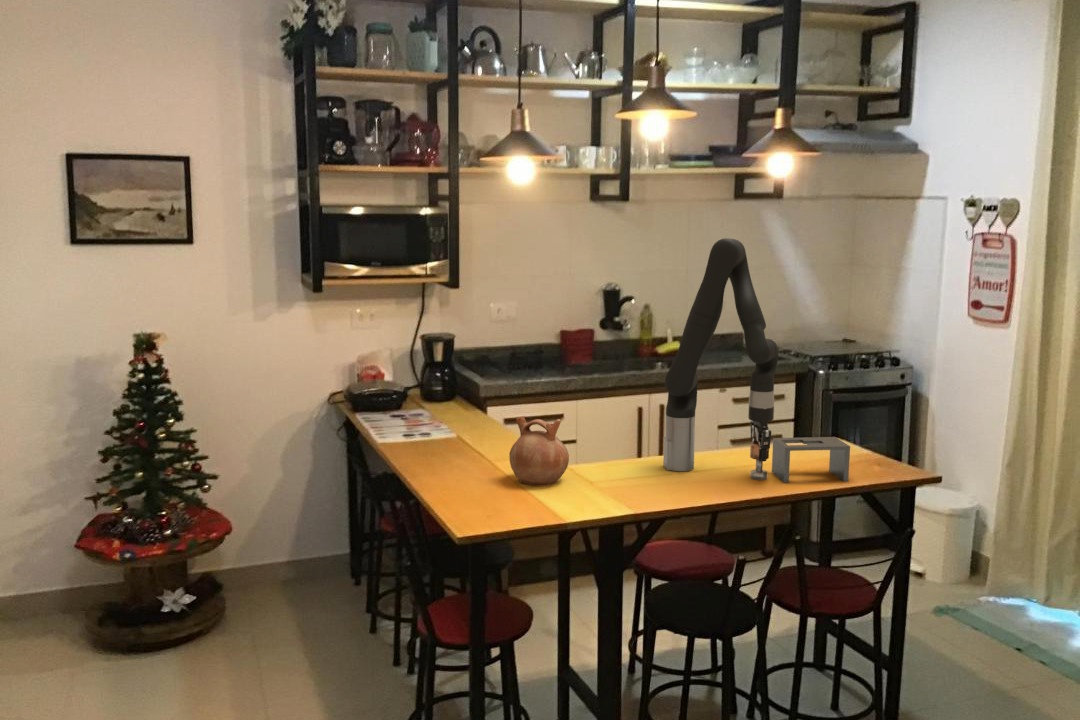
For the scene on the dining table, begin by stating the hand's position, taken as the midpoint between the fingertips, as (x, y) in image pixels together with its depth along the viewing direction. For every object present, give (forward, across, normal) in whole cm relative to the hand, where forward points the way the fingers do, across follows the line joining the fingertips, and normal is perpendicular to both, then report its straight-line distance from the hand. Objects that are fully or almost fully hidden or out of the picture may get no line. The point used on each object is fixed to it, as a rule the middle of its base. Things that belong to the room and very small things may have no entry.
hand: (759, 458), depth 296 cm
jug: (+6, -2, -68) cm, 68 cm away
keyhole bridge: (+6, 0, +16) cm, 17 cm away
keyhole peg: (+6, 0, 0) cm, 6 cm away
